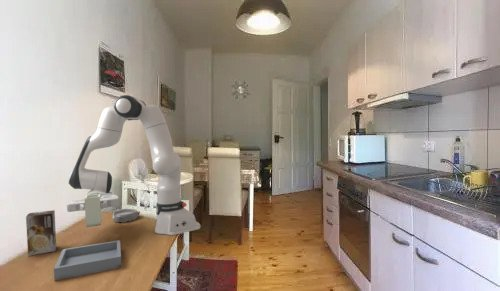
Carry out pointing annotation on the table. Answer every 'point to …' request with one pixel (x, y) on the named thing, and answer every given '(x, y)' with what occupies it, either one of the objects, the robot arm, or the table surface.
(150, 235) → the table surface
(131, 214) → the dish
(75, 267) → the grey tray
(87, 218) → the small tall open container
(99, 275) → the table surface
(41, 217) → the coffee box
